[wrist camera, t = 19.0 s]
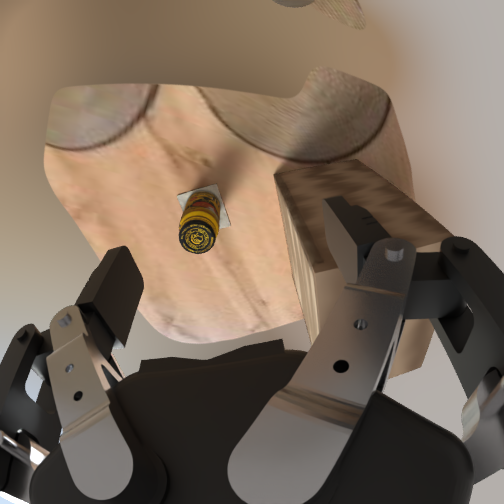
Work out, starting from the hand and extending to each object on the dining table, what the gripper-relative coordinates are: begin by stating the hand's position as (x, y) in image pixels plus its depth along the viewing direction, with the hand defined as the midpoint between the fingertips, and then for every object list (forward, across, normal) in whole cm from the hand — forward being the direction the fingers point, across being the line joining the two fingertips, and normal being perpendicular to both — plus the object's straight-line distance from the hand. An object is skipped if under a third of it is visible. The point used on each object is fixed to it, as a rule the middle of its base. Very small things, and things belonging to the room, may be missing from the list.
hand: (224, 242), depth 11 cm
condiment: (+38, +8, +14) cm, 42 cm away
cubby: (+38, -13, +22) cm, 46 cm away
